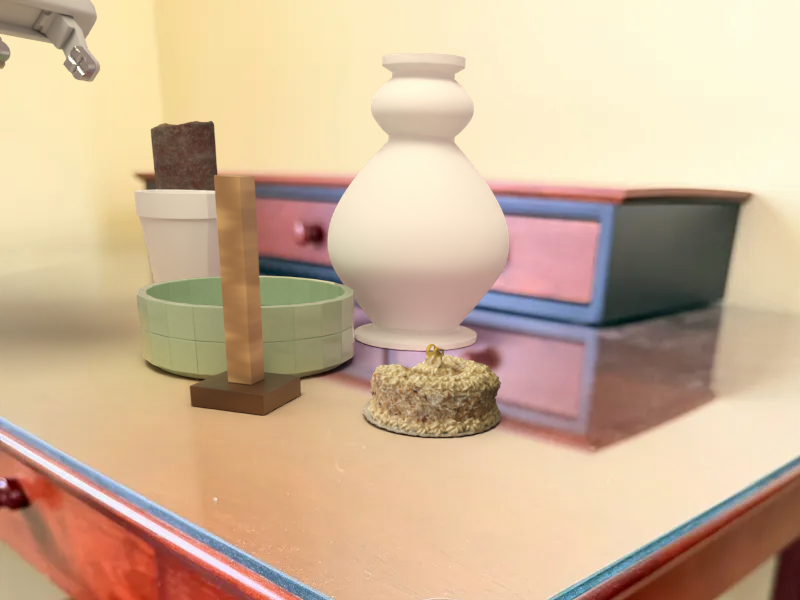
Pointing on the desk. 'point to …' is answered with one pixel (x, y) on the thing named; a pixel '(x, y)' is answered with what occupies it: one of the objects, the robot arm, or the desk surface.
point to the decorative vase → (419, 215)
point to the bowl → (281, 325)
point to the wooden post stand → (241, 311)
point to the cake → (434, 397)
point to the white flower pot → (179, 232)
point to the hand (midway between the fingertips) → (47, 68)
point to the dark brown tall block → (184, 156)
